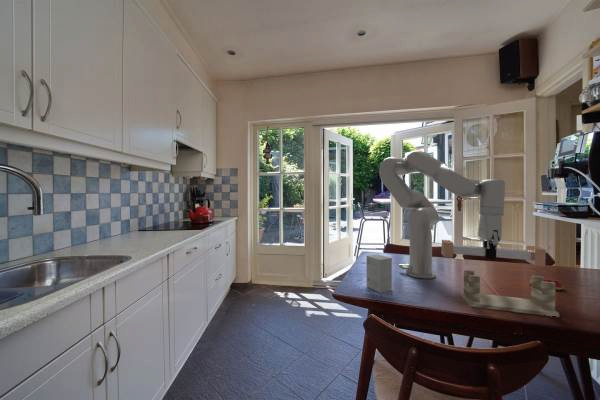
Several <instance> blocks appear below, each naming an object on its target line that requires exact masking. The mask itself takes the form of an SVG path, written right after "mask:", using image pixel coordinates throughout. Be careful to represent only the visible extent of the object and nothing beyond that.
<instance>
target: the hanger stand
mask: <svg viewBox="0 0 600 400" xmlns="http://www.w3.org/2000/svg"><path fill="white" fill-rule="evenodd" d="M544 278H545V277H544V276H543V275H542V276H540V275H531V277H530V280H531V284H530V287H531V288H530V299H529V298H521V297H512V296H505V295H495V294H484V293H481V276H480V275H475V271H474V270H469V269H463V291H461V296H462V298H463V299H464V300H465V303H467V304H468V306H469V307H474V308H481V309H490V310H497V311H505V312H513V313H520V314H521V313H522V314H528V315H538V316H544V315H545V316H544V317H546V316H547V317H552V316H556V317H555V318H560V313H559V312H558V311H557V310H556V290H555V287H556V283H554V282H544Z"/></svg>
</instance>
